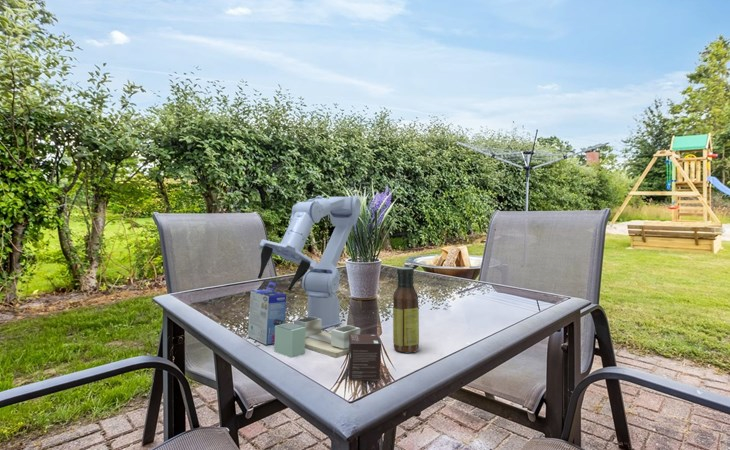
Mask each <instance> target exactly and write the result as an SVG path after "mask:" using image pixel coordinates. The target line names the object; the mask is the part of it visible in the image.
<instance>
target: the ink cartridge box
mask: <svg viewBox="0 0 730 450" xmlns="http://www.w3.org/2000/svg"><path fill="white" fill-rule="evenodd" d="M277 285H278V283H277V282H272V281H269V283H268V284H267V285H266V288H265V289H256V290H254V289H253V290H250V295H249V296H250V299H249V314H248V315H249V316H248V330H247V336H248V338H250V339H253V340H255V341H257V342H259V343H261V344H263V345H265V346H267V345H273V344H274V345H275V326H277V325H281V324H285V323H286V310H287V309H286V308H287V293H283V292H279V291H275V290H276V287H277ZM270 286H273V287H270Z"/></svg>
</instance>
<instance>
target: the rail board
mask: <svg viewBox="0 0 730 450" xmlns="http://www.w3.org/2000/svg"><path fill="white" fill-rule="evenodd" d="M293 324H297V325H301V326H303V327H306V332H305V349H307V350H310V351H314V352H317V353H318V354H319V353H320V354H323V355H327V356H329V357H333V358H335V359H337V358H340V357H341V356H345V355H347V354H348V355H349V335H350V334H361V327H357V326H353V325H349V324H348V325H344V326H340V327H337V328H333V329H331V331H330V332H328V331H325V330H322V329H321V328H322V319H320V318H315V317H304V318H303V317H302V318H298V319H294V320H293Z"/></svg>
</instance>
